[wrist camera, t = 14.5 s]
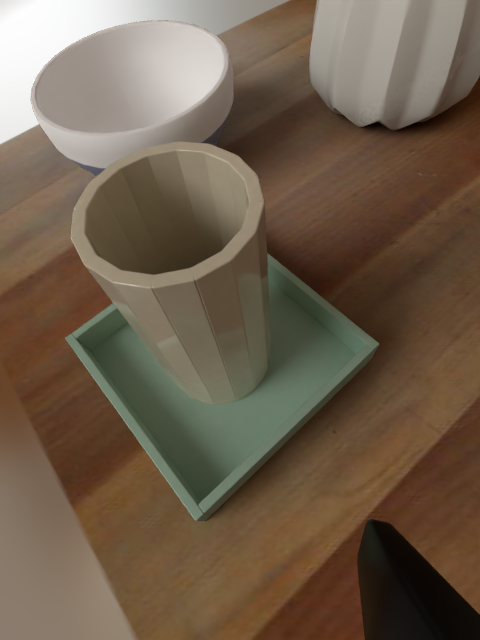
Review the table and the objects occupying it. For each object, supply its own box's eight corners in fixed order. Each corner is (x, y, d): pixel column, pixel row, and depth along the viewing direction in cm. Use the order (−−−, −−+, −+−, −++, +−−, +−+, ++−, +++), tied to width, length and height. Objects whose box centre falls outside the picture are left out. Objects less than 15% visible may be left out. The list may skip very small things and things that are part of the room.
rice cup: (259, 415, 21) (237, 302, 10) (155, 393, 22) (36, 270, 12) (279, 317, 24) (279, 148, 13) (186, 302, 25) (115, 136, 14)
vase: (285, 80, 37) (288, -124, 25) (415, 46, 38) (477, -169, 26) (341, 169, 30) (380, -51, 19) (498, 125, 31) (630, -113, 19)
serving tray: (204, 521, 19) (195, 521, 17) (82, 353, 25) (64, 338, 23) (370, 360, 23) (380, 343, 21) (231, 242, 28) (227, 220, 26)
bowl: (110, 252, 29) (58, 170, 22) (60, 149, 35) (8, 62, 29) (273, 175, 31) (271, 80, 24) (197, 92, 38) (179, 0, 31)
